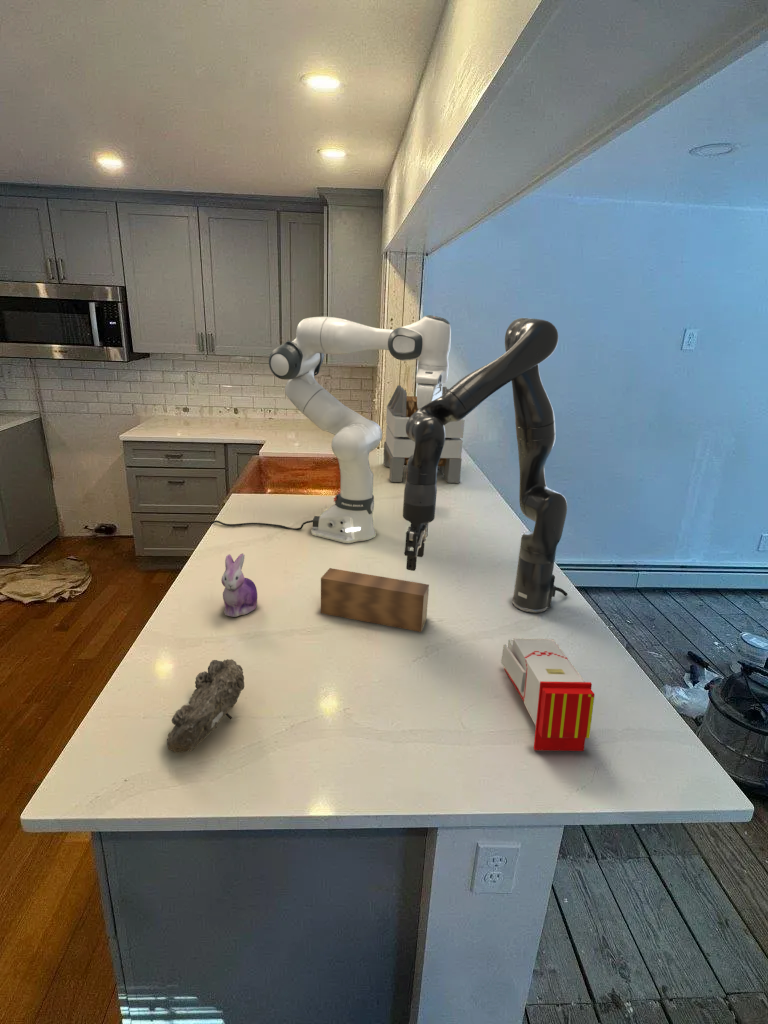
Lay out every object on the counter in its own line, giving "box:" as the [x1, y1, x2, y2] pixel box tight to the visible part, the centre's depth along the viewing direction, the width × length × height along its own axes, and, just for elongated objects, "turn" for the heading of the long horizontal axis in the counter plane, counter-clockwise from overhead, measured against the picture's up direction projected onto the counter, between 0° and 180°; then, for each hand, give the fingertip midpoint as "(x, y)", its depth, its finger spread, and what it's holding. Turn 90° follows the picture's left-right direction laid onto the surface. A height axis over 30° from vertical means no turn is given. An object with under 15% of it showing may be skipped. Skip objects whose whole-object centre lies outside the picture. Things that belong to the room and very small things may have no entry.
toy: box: [500, 637, 595, 752], centre depth 114 cm, size 12×13×30 cm
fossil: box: [166, 658, 245, 754], centre depth 106 cm, size 22×10×15 cm
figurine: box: [220, 553, 258, 618], centre depth 144 cm, size 9×10×15 cm
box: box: [320, 567, 430, 633], centre depth 144 cm, size 27×6×10 cm, turn 74°
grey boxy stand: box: [383, 384, 465, 484], centre depth 268 cm, size 34×33×41 cm
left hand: (428, 422), depth 170 cm, fingers open, 8 cm apart
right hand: (415, 562), depth 138 cm, fingers open, 8 cm apart
